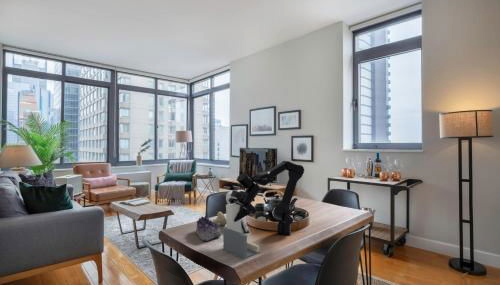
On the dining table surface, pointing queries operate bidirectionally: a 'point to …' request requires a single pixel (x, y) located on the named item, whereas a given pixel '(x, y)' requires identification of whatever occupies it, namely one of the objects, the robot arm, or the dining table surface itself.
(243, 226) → the hinge
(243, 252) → the bookend
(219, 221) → the beige lumpy piece
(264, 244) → the dining table surface
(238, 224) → the white tapered vase
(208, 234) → the geode
